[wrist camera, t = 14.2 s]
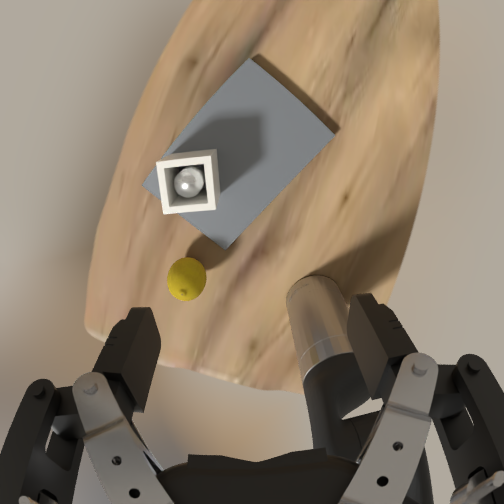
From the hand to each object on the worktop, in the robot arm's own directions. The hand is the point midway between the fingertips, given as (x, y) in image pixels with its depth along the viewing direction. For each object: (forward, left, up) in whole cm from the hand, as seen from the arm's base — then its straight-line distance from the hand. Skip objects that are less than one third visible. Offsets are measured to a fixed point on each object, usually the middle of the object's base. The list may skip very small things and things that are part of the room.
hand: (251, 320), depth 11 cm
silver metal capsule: (+5, +4, -29) cm, 29 cm away
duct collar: (+5, +4, -29) cm, 29 cm away
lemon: (-3, +16, -30) cm, 34 cm away
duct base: (+3, -1, -30) cm, 30 cm away
